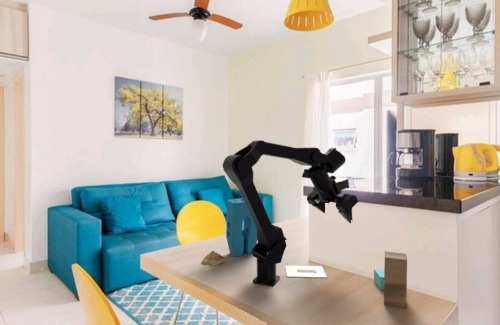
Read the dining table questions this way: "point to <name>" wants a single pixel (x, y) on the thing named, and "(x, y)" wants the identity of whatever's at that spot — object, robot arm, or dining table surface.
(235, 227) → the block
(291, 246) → the dining table surface
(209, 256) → the shard
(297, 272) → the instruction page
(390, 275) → the walnut brick
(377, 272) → the teal base block
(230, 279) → the dining table surface
